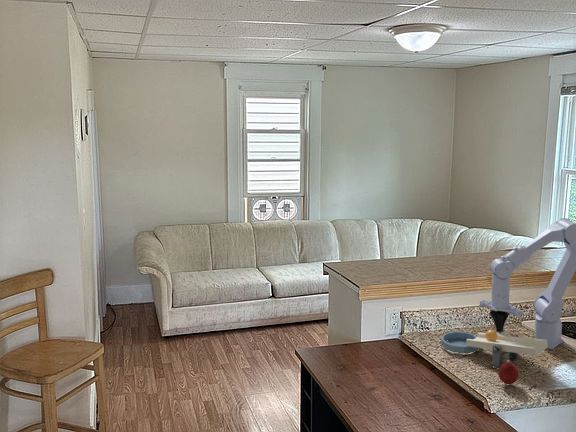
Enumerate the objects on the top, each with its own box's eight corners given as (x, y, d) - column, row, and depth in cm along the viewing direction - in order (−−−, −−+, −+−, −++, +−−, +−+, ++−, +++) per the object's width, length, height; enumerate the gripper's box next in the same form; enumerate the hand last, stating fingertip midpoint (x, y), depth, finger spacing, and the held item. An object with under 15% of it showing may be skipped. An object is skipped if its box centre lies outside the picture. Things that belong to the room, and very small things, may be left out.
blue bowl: (454, 336, 208) (454, 328, 208) (485, 346, 199) (485, 338, 198) (434, 347, 201) (434, 339, 200) (465, 358, 191) (465, 349, 191)
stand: (510, 352, 193) (511, 332, 192) (522, 356, 190) (522, 336, 189) (488, 367, 184) (488, 346, 183) (499, 371, 181) (500, 350, 180)
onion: (520, 390, 170) (520, 365, 168) (499, 389, 171) (500, 364, 169) (516, 380, 175) (517, 356, 173) (496, 379, 176) (497, 355, 175)
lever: (493, 330, 203) (492, 322, 203) (561, 338, 185) (559, 329, 185) (467, 345, 193) (465, 338, 192) (535, 355, 174) (534, 346, 174)
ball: (493, 341, 191) (486, 331, 193) (502, 337, 189) (495, 326, 190) (487, 345, 189) (480, 334, 190) (496, 341, 186) (489, 330, 187)
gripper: (475, 291, 199) (474, 328, 201) (514, 301, 188) (513, 340, 191) (486, 286, 203) (485, 322, 206) (525, 296, 192) (523, 333, 195)
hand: (499, 330), depth 199 cm, fingers closed, pressing on lever
